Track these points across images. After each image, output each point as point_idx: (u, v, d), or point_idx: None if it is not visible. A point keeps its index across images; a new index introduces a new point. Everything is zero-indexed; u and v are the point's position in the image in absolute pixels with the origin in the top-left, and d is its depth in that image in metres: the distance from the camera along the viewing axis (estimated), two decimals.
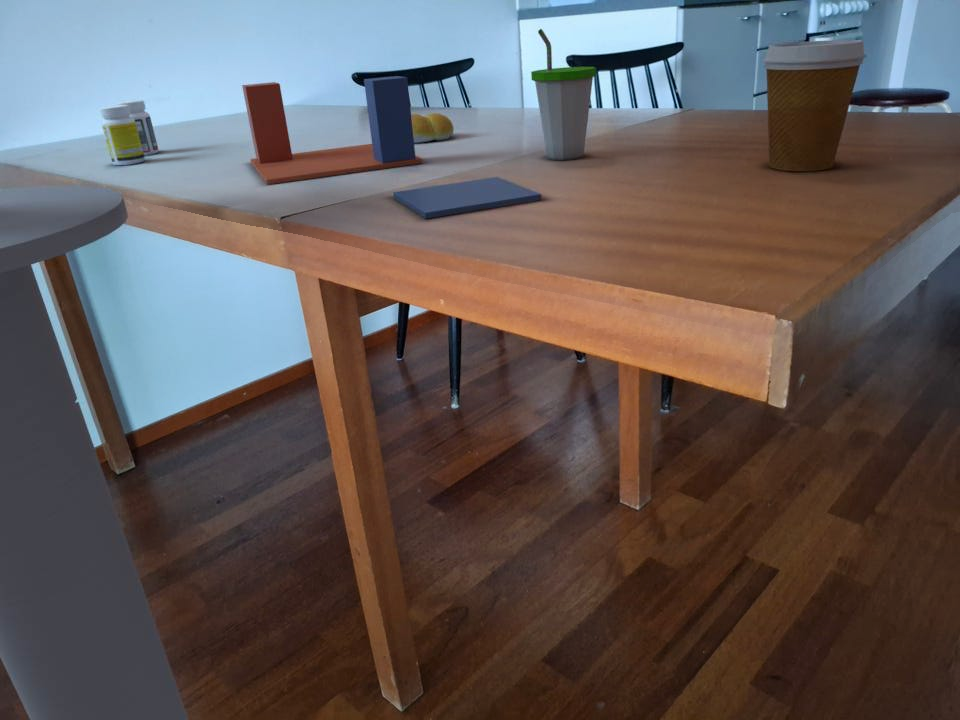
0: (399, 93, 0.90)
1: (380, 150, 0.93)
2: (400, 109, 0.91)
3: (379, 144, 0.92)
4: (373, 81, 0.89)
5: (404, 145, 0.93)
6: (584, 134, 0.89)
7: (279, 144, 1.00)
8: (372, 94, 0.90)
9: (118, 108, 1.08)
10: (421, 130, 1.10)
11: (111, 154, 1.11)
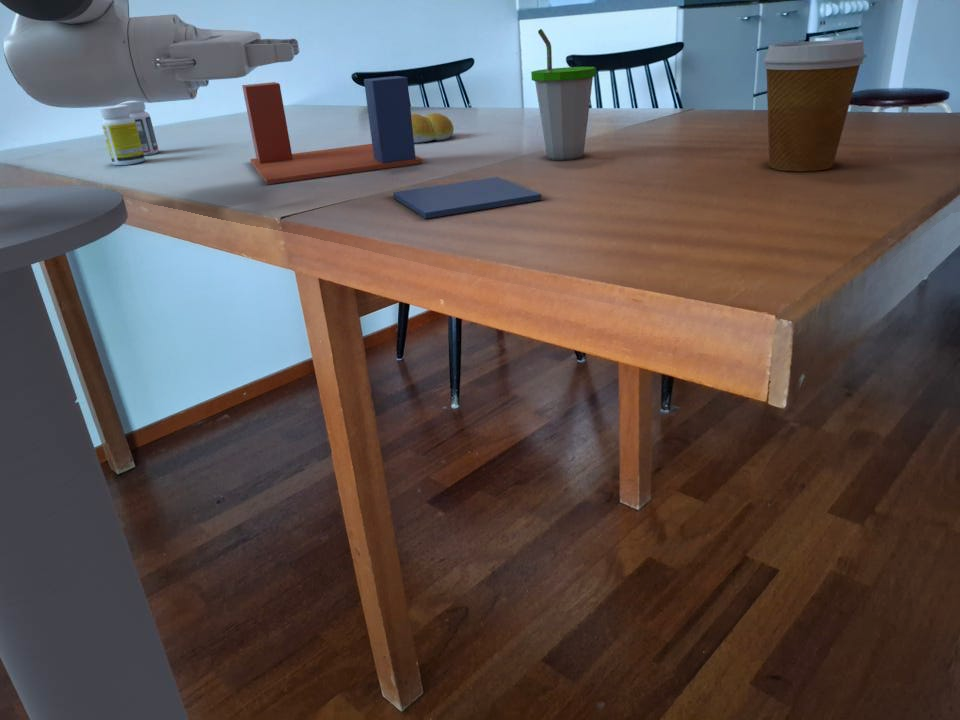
0: (399, 93, 0.90)
1: (380, 150, 0.93)
2: (400, 109, 0.91)
3: (379, 144, 0.92)
4: (373, 81, 0.89)
5: (404, 145, 0.93)
6: (584, 134, 0.89)
7: (279, 144, 1.00)
8: (372, 94, 0.90)
9: (118, 108, 1.08)
10: (421, 130, 1.10)
11: (111, 154, 1.11)
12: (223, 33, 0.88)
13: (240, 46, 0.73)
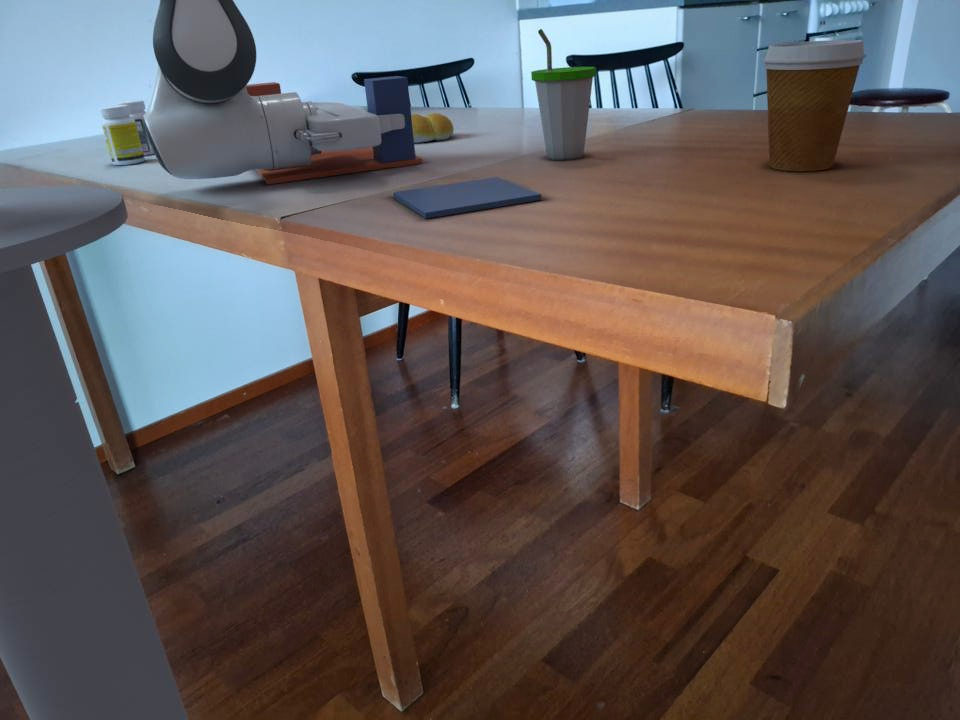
0: (399, 93, 0.90)
1: (380, 150, 0.93)
2: (400, 109, 0.91)
3: None
4: (373, 81, 0.89)
5: (404, 145, 0.93)
6: (584, 134, 0.89)
7: None
8: (372, 94, 0.90)
9: (118, 108, 1.08)
10: (421, 130, 1.10)
11: (111, 154, 1.11)
12: (315, 105, 0.97)
13: (378, 119, 0.84)
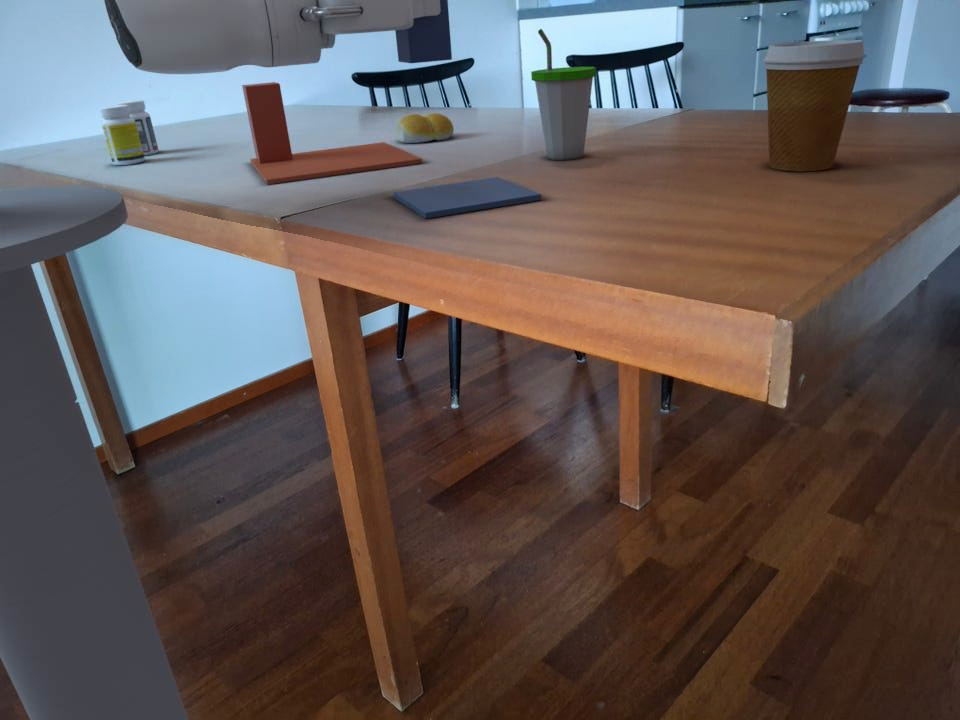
0: None
1: (408, 46, 0.73)
2: None
3: (407, 38, 0.73)
4: None
5: (438, 40, 0.74)
6: (584, 134, 0.89)
7: (279, 144, 1.00)
8: None
9: (118, 108, 1.08)
10: (421, 130, 1.10)
11: (111, 154, 1.11)
12: None
13: None
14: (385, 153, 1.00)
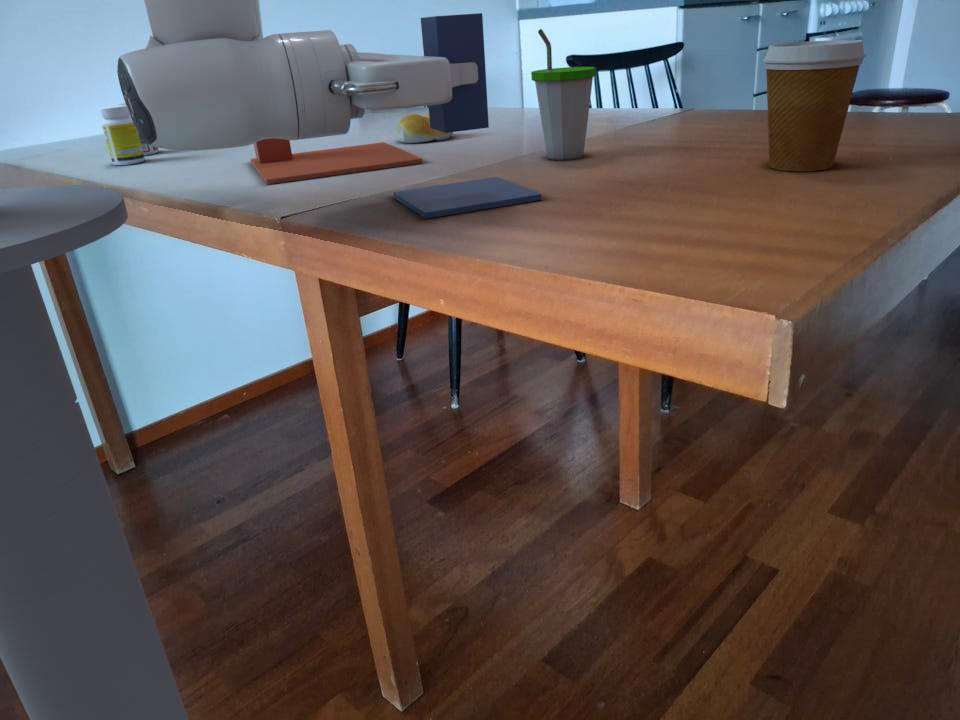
0: (471, 35, 0.66)
1: (442, 115, 0.68)
2: (472, 57, 0.67)
3: (441, 106, 0.68)
4: (437, 17, 0.64)
5: (475, 108, 0.68)
6: (584, 134, 0.89)
7: (279, 144, 1.00)
8: (434, 36, 0.65)
9: (118, 108, 1.08)
10: (421, 130, 1.10)
11: (111, 154, 1.11)
12: None
13: (449, 65, 0.59)
14: (385, 153, 1.00)
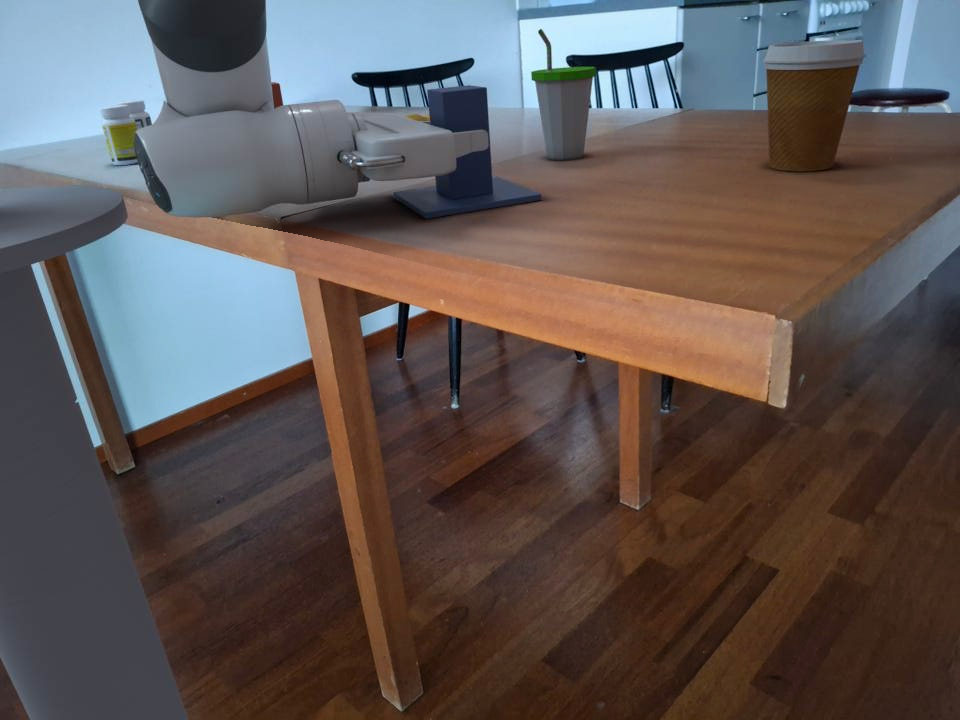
0: (475, 108, 0.68)
1: (448, 183, 0.71)
2: None
3: (447, 175, 0.70)
4: (443, 93, 0.67)
5: (480, 176, 0.71)
6: (584, 134, 0.89)
7: None
8: (440, 110, 0.68)
9: (118, 108, 1.08)
10: None
11: (111, 154, 1.11)
12: None
13: (454, 137, 0.61)
14: None
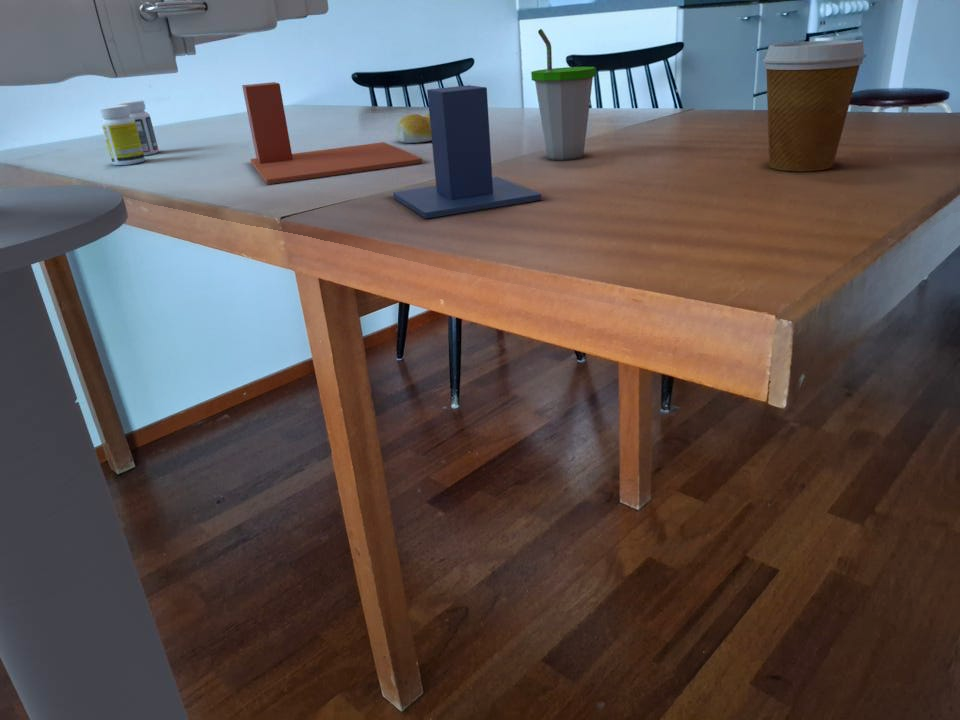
0: (475, 108, 0.68)
1: (448, 183, 0.71)
2: (477, 129, 0.69)
3: (447, 175, 0.70)
4: (443, 93, 0.67)
5: (480, 176, 0.71)
6: (584, 134, 0.89)
7: (279, 144, 1.00)
8: (440, 110, 0.68)
9: (118, 108, 1.08)
10: (421, 130, 1.10)
11: (111, 154, 1.11)
12: None
13: None
14: (385, 153, 1.00)
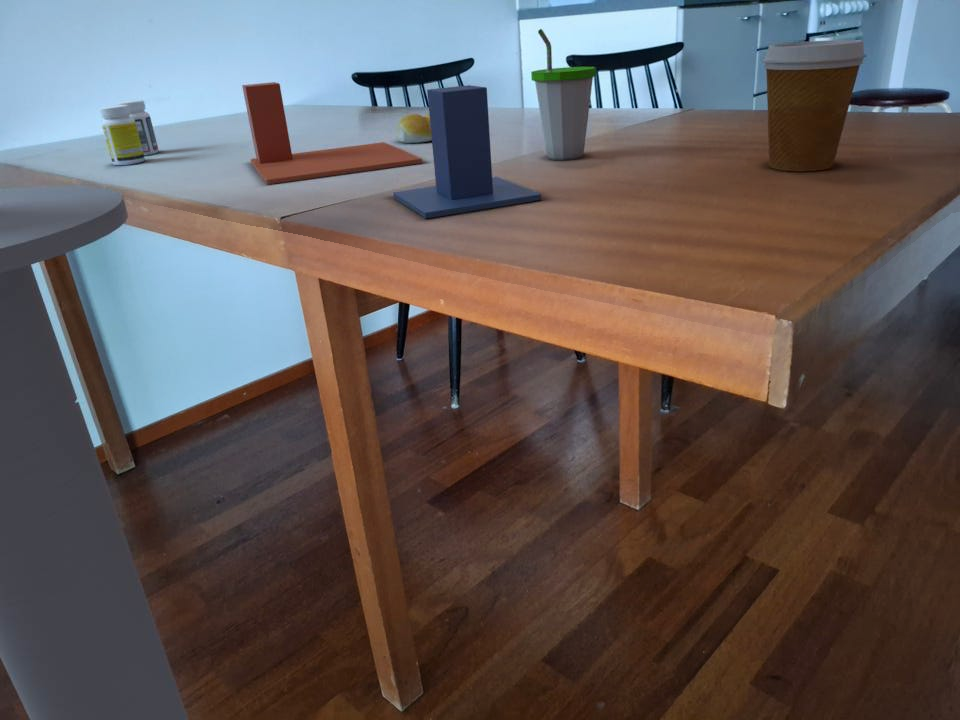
0: (475, 108, 0.68)
1: (448, 183, 0.71)
2: (477, 129, 0.69)
3: (447, 175, 0.70)
4: (443, 93, 0.67)
5: (480, 176, 0.71)
6: (584, 134, 0.89)
7: (279, 144, 1.00)
8: (440, 110, 0.68)
9: (118, 108, 1.08)
10: (421, 130, 1.10)
11: (111, 154, 1.11)
12: None
13: None
14: (385, 153, 1.00)
